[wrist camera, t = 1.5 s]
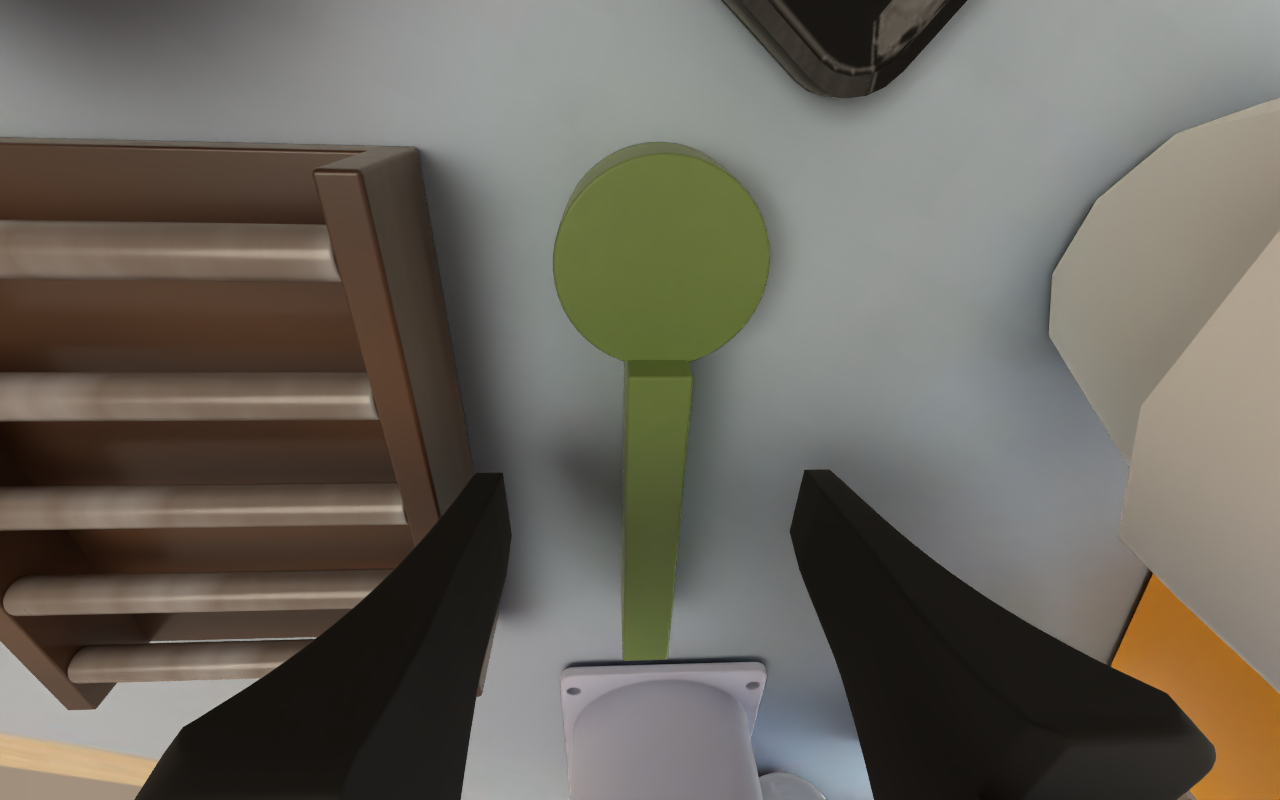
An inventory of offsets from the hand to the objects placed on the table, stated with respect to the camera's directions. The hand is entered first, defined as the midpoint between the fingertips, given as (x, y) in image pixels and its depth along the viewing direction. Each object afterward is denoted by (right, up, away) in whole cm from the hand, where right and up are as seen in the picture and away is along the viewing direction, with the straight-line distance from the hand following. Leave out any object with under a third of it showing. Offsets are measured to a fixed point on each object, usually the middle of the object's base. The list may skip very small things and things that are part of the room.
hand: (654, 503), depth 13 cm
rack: (-11, +1, +2) cm, 11 cm away
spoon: (0, +2, +2) cm, 3 cm away
